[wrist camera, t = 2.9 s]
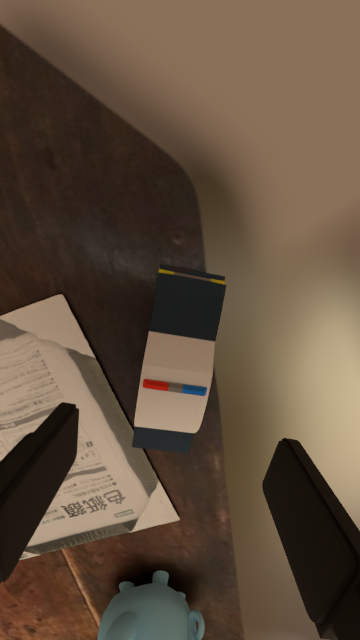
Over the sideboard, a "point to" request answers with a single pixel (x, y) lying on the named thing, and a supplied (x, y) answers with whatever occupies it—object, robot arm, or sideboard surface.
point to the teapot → (150, 613)
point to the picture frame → (93, 430)
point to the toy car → (178, 359)
